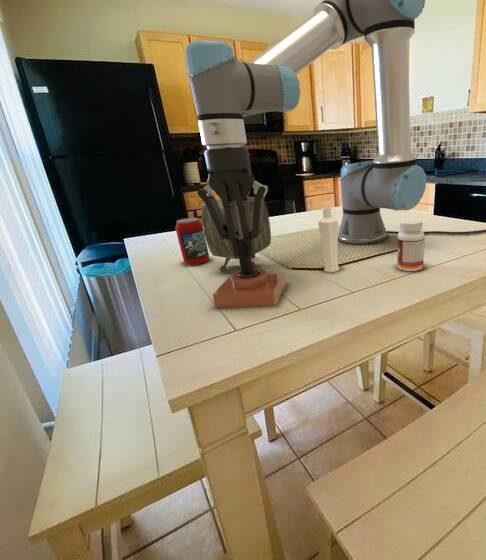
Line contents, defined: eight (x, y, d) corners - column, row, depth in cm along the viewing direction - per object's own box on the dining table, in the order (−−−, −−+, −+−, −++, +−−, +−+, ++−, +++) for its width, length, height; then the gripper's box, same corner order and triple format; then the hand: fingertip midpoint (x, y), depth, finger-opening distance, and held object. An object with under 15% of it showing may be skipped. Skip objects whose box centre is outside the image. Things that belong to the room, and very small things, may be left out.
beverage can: (195, 267, 90) (184, 223, 86) (179, 264, 94) (168, 221, 89) (215, 259, 96) (206, 217, 91) (199, 256, 99) (190, 216, 95)
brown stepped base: (285, 285, 75) (282, 264, 73) (275, 305, 66) (271, 282, 64) (232, 287, 76) (228, 267, 74) (215, 308, 66) (210, 284, 64)
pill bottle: (398, 262, 84) (398, 218, 80) (423, 263, 83) (424, 218, 79) (396, 271, 79) (396, 224, 75) (423, 272, 78) (425, 224, 73)
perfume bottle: (338, 272, 80) (334, 210, 75) (321, 272, 81) (315, 210, 76) (342, 266, 84) (339, 206, 79) (326, 266, 85) (321, 206, 80)
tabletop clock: (253, 256, 96) (237, 165, 87) (277, 260, 92) (264, 164, 83) (213, 273, 85) (190, 170, 75) (239, 278, 81) (218, 169, 71)
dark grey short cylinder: (261, 277, 71) (260, 268, 70) (256, 284, 67) (255, 275, 67) (243, 278, 71) (241, 269, 71) (237, 285, 68) (235, 276, 67)
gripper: (179, 149, 56) (208, 279, 65) (256, 145, 56) (275, 276, 65) (198, 149, 63) (222, 266, 72) (267, 145, 63) (282, 263, 72)
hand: (247, 271), depth 68 cm, fingers closed
